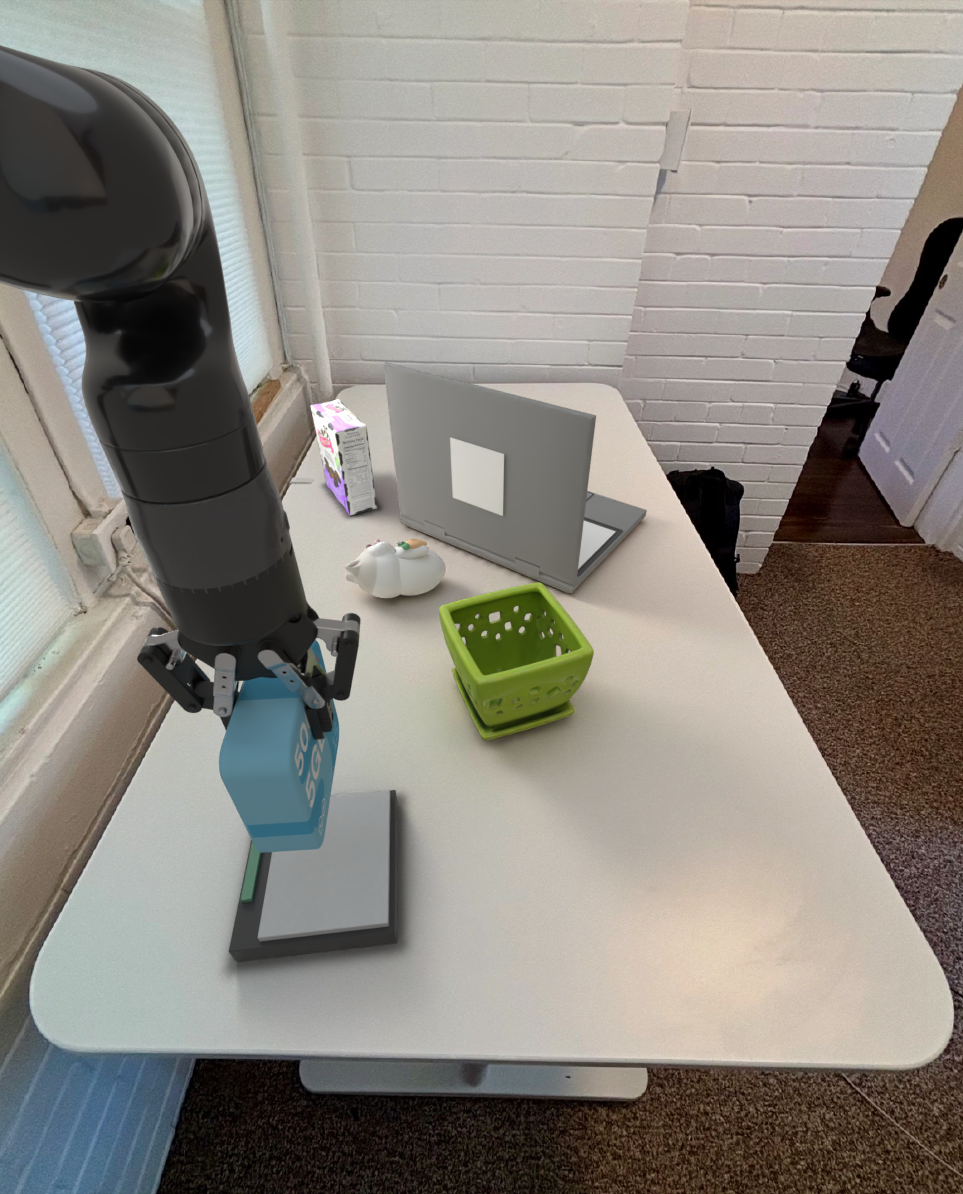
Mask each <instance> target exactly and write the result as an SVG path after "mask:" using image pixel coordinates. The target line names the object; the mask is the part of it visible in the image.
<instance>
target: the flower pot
mask: <svg viewBox="0 0 963 1194" xmlns="http://www.w3.org/2000/svg"><path fill="white" fill-rule="evenodd" d="M516 607H517V610H515V608H516ZM495 613H499V619H496V620H493V621H491V620H490V615H491V614H495ZM528 614H530V615H529V618H528V619H525V618H526V615H528ZM438 615H439V622H440V627H441V630H442V635H443V638H444V641H445V645H446V648H447V650H448V652H449V655H450V657H451V659H452V662H453V665H454V667H453V668H451V674H452V676H453V678H454V681H455V683H456V686H457V689H458V690H459V692H460V695H461V697H462V699H463V702H464V704H465V706H466V709H467V712H468V714H469V716H470V717H471V719H472V721H473V724H474V726H475V728H476V729H477V732H478V733H479V735H480V737H481V738H482V740H483V741H493V740H495V739H499V738H502V737H506V736H509V735H513V734H517V733H521V732H523V731H524V732H525V731H527V730H530V729H534V728H537V727H540V726H543V725H547V724H549V723H553V722H556V721H560V720H563V719H565V718H568V717H570V716H571V715H574V714H575V712H576V708H575V706H574V704H573V702H572V701H571V698H573V696H575V694H576V693H577V691H579V689H580V688H581V686H582V684H584V681H585V680H586V677H587V675H588V674H589V671H590V668H591V665H592V662H593V658H594V653H595V652H594V648H593V646H592V645H591V643H590V642H589V640H588V639H587V637H586V636H585V634H584V633H583V631H582V630H581V629H580V627H579V626H578V625H577V624H576V622H575V621H574V620H573V618H572V617H571V615H570V614H569V612H567V611H566V610H565V608H564V607H563V605H562V604H561V602H559V601H558V600H557V598H556V596H554V595H553V594H552V592H551V591H550V590H549V589H548V588H547V587H546V586H545V584H544V583H542V582H540V581H538V582H532V583H526V584H521V585H515V586H512V587H508V588H503V589H498V590H495V591H490V592H487V593H483V594H477V595H473V596H470V597H466V598H463V599H459V600H456V601H452V602H448V603H444V604H442V605H440V606H439V608H438ZM477 615H478V616H477ZM507 623H510V628H506V624H507ZM456 625H459V626H458V628H457V626H456ZM471 625H472V628H470V629H469V626H471ZM521 628H524V630H523V631H522V632H520V629H521ZM483 632H486V634H485V635H482V634H483ZM551 632H552V633H551ZM498 634H499V637H498V638H497V635H498ZM543 635H544V636H543ZM463 638H464V639H463ZM464 641H465V642H464ZM557 646H558V647H559V648H560V655H557Z"/></svg>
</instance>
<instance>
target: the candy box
mask: <svg viewBox="0 0 963 1194" xmlns="http://www.w3.org/2000/svg"><path fill="white" fill-rule="evenodd" d="M310 410H311V416H312V420H313V424H314V430H315V435H316V439H317V444H318V449H319V453H320V458H321V464H322V468H323V475H324V480H325V484H326V486H327V488H328V490H330V492H331V493H332V494H333V496H334V497H335V498H336V500H337V501H338V503H340V505H341V506H342V507H343V508H342V509H344V510H345V512H346V513H347V514H348V515H349V516H353V515H357V514H361V513H365V512H369V511H373V510H377V509H378V503H377V496H376V489H375V481H374V473H373V466H372V458H371V448H370V442H369V441H370V440H369V433H368V427H367V424H366V423H364V422H363V421H362V420H360V418H359V417H357V415H356V414H354V413H353V411H352V410H350V408H348V407H347V406H346V405H345V404H344V403H343V402H342V400H341V399H340V398H338V399H334V400H329V401H328V400H327V401H324V402H320V403H314V404H311V405H310Z"/></svg>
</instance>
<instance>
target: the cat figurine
mask: <svg viewBox="0 0 963 1194" xmlns="http://www.w3.org/2000/svg"><path fill="white" fill-rule="evenodd" d="M396 544H397V546H393V545H391V544H390V543H389V542H387V541H380V539H379V538H377V539H375V540H374V544H367V545H365V546H366V547H365V548H364V549H363V550H362V551H361V552H360V553H359V555H358V556H357V557H356V558H355V559H353V560H351V561H348V562H347V563H346V564H345V565H344V568H345V570H346V571H347V572H346V573H345V574H344V575H345V576H344V577H345V579H346V580H347V581H348V582H350V583H353V584H356V585H358V587H359V588H360V589H361V590H362V591H363V592H364V593H366V594H368V595H370V596H372V597H376V598H379V599H380V598H381V599H393V598H396V597H399V596H409V597H410V596H420V595H422V594H425V593H428V592H430V591H432V590H433V589H435V588H436V587H437V586H438V585H439V584H440V583H441V582H442V580H443V579H444V577H445V574H446V563H445V561H444V559H443V558H442V557H441V556H440V555H439V554H438V553H437V552H436V551H434V550H432V549H431V548H429V547H428V546H427V544H428V543H427V542H426V541H425V540H422V539H418V538H417V539H416V538H409V539H407V540H406V541H403V540H402V541H398V542H396Z"/></svg>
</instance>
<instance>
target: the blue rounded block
mask: <svg viewBox="0 0 963 1194" xmlns="http://www.w3.org/2000/svg"><path fill="white" fill-rule="evenodd" d="M310 648H311V649H312V650H313V652H314V655H315V659H316V661H317V663H318V664H319V665H320V667H321V668H322V669H323V670H324V672H325V673H327V669H326V665H325V661H324V657H323V653H322V649H321V645H320V643H319V641H318V640H317V639H316V640H315V641H314V643H313V644H312V646H311V647H310ZM238 692H239V695H238V698H237V701H236V704H235V707H234V710H233V713H232V716H231V718H230V721H229V724H228V727H227V730H225V734H224V738H223V740H222V743H221V746H220V751H219V755H218V770H219V775H220V779H221V781H222V783H223V785H224V787H225V789H226V791H227V793H228V795H229V798H230V799H231V801H232V803H233V805H234V807H235V810H237V813H238V815H239V817H240V820H241V821H242V823H243V826H244V828H245V830H246V831H247V833H248V836H249V837H250V840H251V839H252V841H253V843H254V845H255V847H256V849H257V851H258V852H260V853H266V852H282V851H297V850H313V849H319V848H320V847H321V845H322V843H323V840H324V835H325V829H326V822H327V816H328V809H329V802H330V796H332V795H331V794H332V789H333V783H334V776H335V770H336V762H337V757H338V756H337V755H338V748H339V744H340V743H339V742H340V723H339V716H338V713H337V709H336V704H335V701H334V700H335V699H334V698H333V699H331V702H332V706H333V710H334V718H333V727H332V730H331V732H326V737H325V739H320V740H315V739H314V736H313V733H312V729H311V726H310V723H309V719H308V716H307V713H306V703H305V702H304V700H303V699H302V698H301V697H300V696H299V695H298V694H297V692H294V693H291V692H290V691H289V690H288V689H287V688H286V687H285V685H284V684H283V683H282V682H281V681H280V680H279V679H278V678H264V677H259V678H255V679H252V680H247V681H242V683H241V686H240V688H239V691H238Z"/></svg>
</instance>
